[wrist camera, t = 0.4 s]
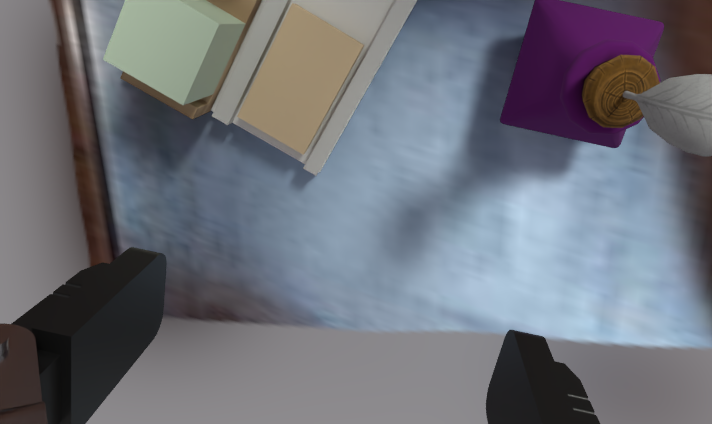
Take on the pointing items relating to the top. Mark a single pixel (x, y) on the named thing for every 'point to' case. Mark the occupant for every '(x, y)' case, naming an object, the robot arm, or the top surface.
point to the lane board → (307, 71)
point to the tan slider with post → (242, 6)
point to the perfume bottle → (603, 81)
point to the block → (174, 45)
